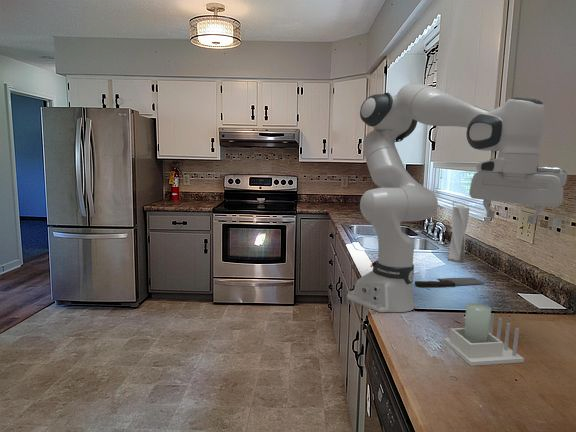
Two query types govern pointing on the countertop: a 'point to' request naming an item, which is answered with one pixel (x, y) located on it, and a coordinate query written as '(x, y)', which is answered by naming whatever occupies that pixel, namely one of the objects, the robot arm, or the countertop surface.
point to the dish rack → (485, 347)
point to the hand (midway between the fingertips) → (510, 220)
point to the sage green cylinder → (477, 323)
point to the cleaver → (449, 282)
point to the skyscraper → (458, 233)
